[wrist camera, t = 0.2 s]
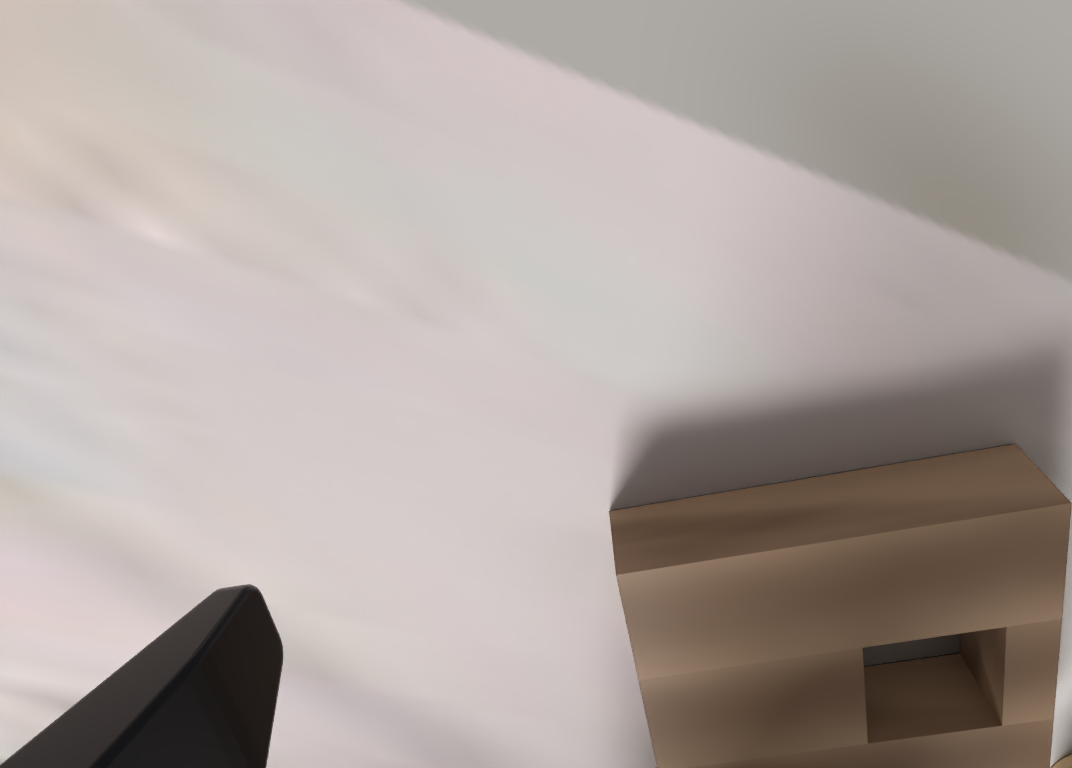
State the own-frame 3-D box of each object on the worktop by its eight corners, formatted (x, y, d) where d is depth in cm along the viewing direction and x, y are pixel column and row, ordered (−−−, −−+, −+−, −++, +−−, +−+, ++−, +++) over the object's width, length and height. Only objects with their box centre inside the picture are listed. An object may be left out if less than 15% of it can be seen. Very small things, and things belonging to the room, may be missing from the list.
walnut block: (1002, 730, 30) (1046, 806, 28) (664, 775, 32) (675, 852, 29) (1015, 443, 25) (1071, 503, 22) (609, 511, 26) (616, 575, 24)
